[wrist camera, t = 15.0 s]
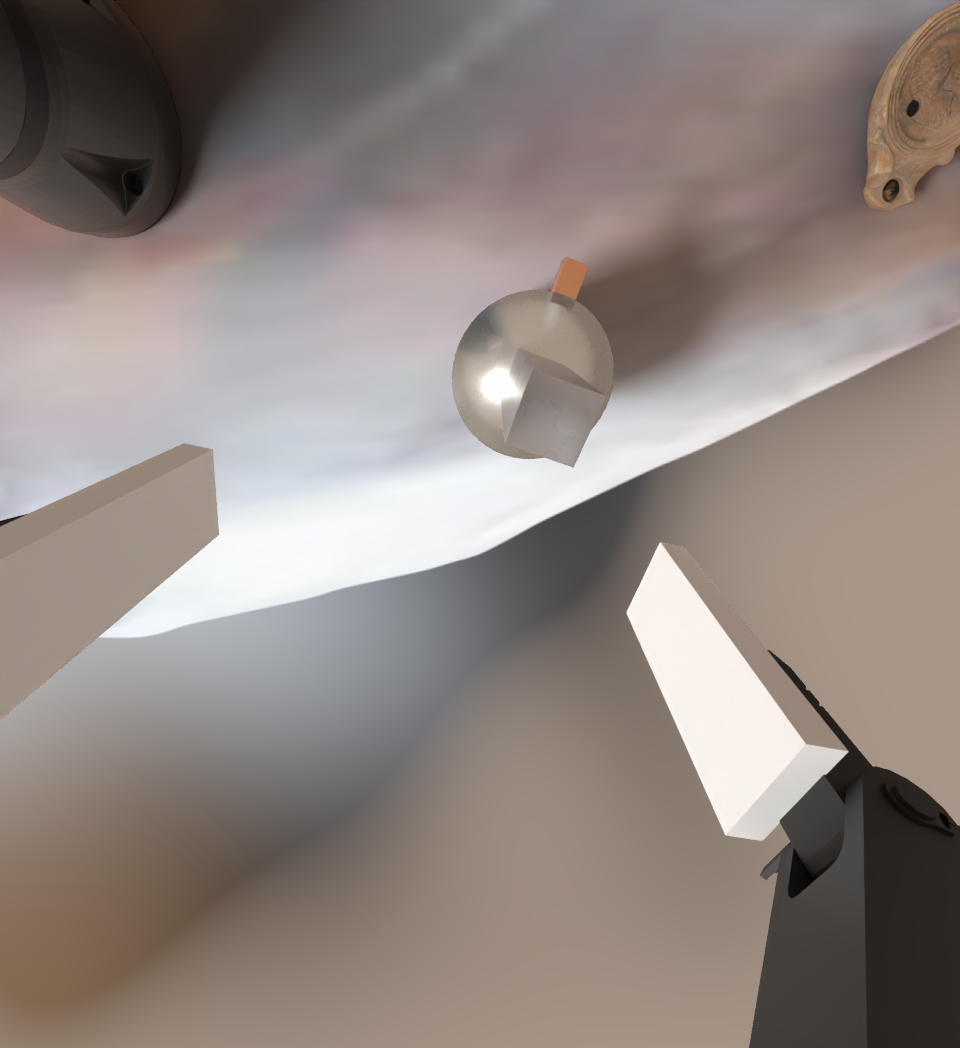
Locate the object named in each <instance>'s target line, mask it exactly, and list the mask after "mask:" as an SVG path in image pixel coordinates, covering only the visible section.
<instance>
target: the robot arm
mask: <svg viewBox="0 0 960 1048" xmlns="http://www.w3.org/2000/svg"><path fill="white" fill-rule="evenodd" d="M180 163H181V142H180V132H179V126H178V120H177V115H176V111H175V107H174V103H173V100H172V97H171V94H170V91H169V88H168V85H167V83H166V80H165V78H164V75H163V73H162V71H161V69H160V67H159V65H158V63H157V61H156V59H155V57H154V55H153V53H152V51H151V50H150V48H149V46H148V45H147V43H146V41H145V40H144V38H143V37H142V35H141V34H140V32H139V31H138V29H137V28H136V27H135V25H134V24H133V23H132V22H131V20H130V19H129V18H128V17H127V15H126V14H125V13H124V12H123V11H122V10H121V8H120V7H119V6H118V5H117V4H116V3H115V2H114V1H113V0H0V196H1V197H2V198H4V199H6V200H8V201H9V202H11V203H13V204H15V205H16V206H18V207H20V208H22V209H23V210H25V211H27V212H29V213H30V214H32V215H34V216H36V217H38V218H39V219H41V220H43V221H45V222H48V223H50V224H52V225H55V226H58V227H60V228H63V229H66V230H70V231H73V232H78V233H83V234H88V235H94V236H99V237H106V238H119V237H126V236H130V235H134V234H137V233H139V232H141V231H143V230H145V229H147V228H148V227H150V226H151V225H152V224H154V223H155V222H156V221H157V220H158V219H159V218H160V217H161V216H162V214H163V213H164V212H165V210H166V209H167V207H168V206H169V204H170V202H171V200H172V197H173V195H174V193H175V189H176V186H177V182H178V178H179V172H180ZM218 535H219V529H218V515H217V502H216V488H215V475H214V461H213V449H208V448H203V447H199V446H194V445H189V444H182V445H180V446H177V447H175V448H173V449H171V450H168V451H166V452H164V453H162V454H160V455H157V456H155V457H153V458H151V459H149V460H146V461H144V462H142V463H140V464H138V465H135V466H133V467H131V468H129V469H126V470H124V471H122V472H120V473H118V474H115V475H113V476H111V477H109V478H107V479H104V480H102V481H100V482H98V483H96V484H93V485H91V486H89V487H87V488H84V489H82V490H80V491H78V492H76V493H73V494H71V495H69V496H67V497H65V498H62V499H60V500H58V501H56V502H54V503H51V504H49V505H47V506H45V507H42V508H40V509H38V510H36V511H34V512H31V513H29V514H25V515H21V516H18V517H14V518H10V519H6V520H2V521H0V720H1V719H2V718H3V717H5V716H6V715H7V714H8V713H9V712H10V711H12V710H13V709H14V708H15V707H16V706H18V705H19V704H20V703H21V702H22V701H23V700H25V699H26V698H27V697H28V696H29V695H30V694H32V693H33V692H34V691H35V690H36V689H38V688H39V687H40V686H41V685H42V684H43V683H45V682H46V681H47V680H48V679H49V678H51V677H52V676H53V675H54V674H55V673H56V672H58V671H59V670H60V669H61V668H62V667H64V666H65V665H66V664H67V663H68V662H69V661H71V660H72V659H73V658H74V657H75V656H77V655H78V654H79V653H80V652H81V651H82V650H83V649H85V648H86V647H87V646H88V645H89V644H90V643H92V642H93V641H94V640H95V639H97V638H98V637H99V636H100V635H101V634H102V633H104V632H105V631H106V630H107V629H108V628H110V627H111V626H112V625H113V624H114V623H115V622H117V621H118V620H119V619H120V618H121V617H122V616H124V615H125V614H126V613H127V612H128V611H130V610H131V609H132V608H133V607H134V606H135V605H137V604H138V603H139V602H140V601H141V600H143V599H144V598H145V597H146V596H147V595H148V594H150V593H151V592H152V591H153V590H154V589H156V588H157V587H158V586H159V585H160V584H161V583H163V582H164V581H165V580H166V579H167V578H168V577H170V576H171V575H172V574H173V573H174V572H176V571H177V570H178V569H179V568H180V567H181V566H183V565H184V564H185V563H186V562H187V561H189V560H190V559H191V558H192V557H193V556H194V555H196V554H197V553H198V552H199V551H200V550H201V549H203V548H204V547H205V546H206V545H207V544H209V543H210V542H211V541H212V540H213V539H214V538H216V537H217V536H218ZM627 615H628V617H629V620H630V622H631V624H632V626H633V628H634V631H635V633H636V635H637V638H638V640H639V642H640V644H641V647H642V649H643V651H644V653H645V656H646V658H647V660H648V662H649V664H650V667H651V669H652V671H653V673H654V676H655V678H656V680H657V682H658V685H659V687H660V689H661V691H662V693H663V696H664V698H665V700H666V703H667V705H668V707H669V709H670V711H671V714H672V716H673V718H674V721H675V723H676V725H677V727H678V730H679V732H680V734H681V736H682V738H683V741H684V743H685V745H686V748H687V750H688V752H689V754H690V756H691V759H692V761H693V763H694V765H695V768H696V770H697V772H698V774H699V777H700V779H701V781H702V783H703V785H704V788H705V790H706V792H707V795H708V797H709V799H710V801H711V804H712V806H713V808H714V810H715V813H716V815H717V817H718V819H719V822H720V824H721V826H722V828H723V830H724V833H725V835H727V836H734V837H741V838H747V839H754V840H761V841H763V840H764V838H766V837H767V836H768V835H769V833H770V832H771V831H772V830H773V829H774V828H775V827H776V826H777V825H778V824H779V823H781V825H782V827H783V829H784V830H785V832H786V834H787V836H788V837H789V839H790V841H791V842H790V843H789V844H788V845H787V846H786V847H785V848H784V849H783V850H782V851H781V852H780V853H779V854H777V855H776V856H775V857H774V858H773V859H772V860H771V861H770V862H769V863H768V864H767V865H766V866H765V867H764V869H763V871H762V872H761V874H760V876H762V877H763V878H764V879H766V880H767V879H768V878H769V877H770V876H771V875H772V874H773V873H777V872H778V876H777V881H776V887H775V894H774V900H773V906H772V912H771V918H770V924H769V930H768V936H767V942H766V948H765V955H764V961H763V967H762V973H761V979H760V985H759V991H758V997H757V1003H756V1009H755V1016H754V1021H753V1028H752V1034H751V1040H750V1046H749V1048H960V826H958V825H957V824H956V823H955V822H954V820H953V819H952V818H951V817H950V816H949V814H948V813H947V812H946V811H945V810H944V808H943V807H942V806H940V805H939V804H938V803H937V802H936V801H935V800H934V799H933V798H932V797H931V796H929V795H928V794H927V793H926V792H925V791H924V790H922V789H921V788H919V787H918V786H916V785H915V784H914V783H912V782H911V781H909V780H908V779H906V778H904V777H902V776H900V775H898V774H896V773H894V772H892V771H890V770H887V769H883V768H880V767H873V766H872V765H871V764H870V763H869V762H868V761H867V759H866V758H865V757H864V756H863V755H862V753H861V752H860V751H859V750H858V748H857V747H856V746H855V745H854V744H853V742H852V741H851V740H850V739H849V738H848V736H847V735H846V734H845V733H844V732H843V730H842V729H841V728H840V727H839V726H838V724H837V723H836V722H835V721H834V720H833V718H832V717H831V716H830V715H829V714H828V712H827V711H826V710H825V709H824V708H823V707H822V706H819V701H818V700H817V699H816V698H815V697H814V695H813V694H812V693H811V692H810V691H809V690H806V686H805V685H804V683H803V682H802V681H801V680H800V679H799V678H798V676H797V675H796V674H795V673H794V671H793V670H792V669H791V668H790V667H789V666H788V665H787V664H785V663H784V662H783V661H782V660H780V659H779V658H778V657H777V656H776V655H774V654H773V653H772V652H771V651H770V650H767V649H766V648H765V647H764V646H763V644H762V643H761V642H760V641H759V640H758V638H757V637H756V636H755V635H754V634H753V632H752V631H751V630H750V628H749V627H748V626H747V625H746V623H745V622H744V621H743V620H742V618H741V617H740V616H739V615H738V614H737V612H736V611H735V610H734V608H733V607H732V606H731V605H730V603H729V602H728V601H727V600H726V599H725V597H724V596H723V595H722V594H721V592H720V591H719V590H718V589H717V587H716V586H715V585H714V584H713V583H712V581H711V580H710V579H709V577H708V576H707V575H706V574H705V572H704V571H703V570H702V569H701V567H700V566H699V565H698V564H697V562H696V561H695V560H694V559H693V558H692V556H691V555H690V554H689V553H688V551H687V550H686V549H685V548H684V547H682V546H676V545H672V544H667V543H663V542H660V543H659V545H658V548H657V550H656V552H655V554H654V556H653V558H652V560H651V563H650V564H649V566H648V569H647V571H646V573H645V575H644V577H643V579H642V581H641V583H640V585H639V587H638V590H637V592H636V594H635V596H634V598H633V600H632V602H631V604H630V606H629V608H628V610H627Z"/></svg>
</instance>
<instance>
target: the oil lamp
mask: <svg viewBox="0 0 960 1048" xmlns="http://www.w3.org/2000/svg"><path fill="white" fill-rule="evenodd" d="M959 145H960V2H958V3H956V4H953V5H951V6H949V7H947V8H945V9H943V10H941V11H940V12H938V13H936V14H935V15H933V16H932V17H931V18H930V19H928V20H927V21H926V22H925V23H924V24H922V25H921V26H920V27H919V28H918V29H917V30H916V31H915V32H914V33H913V34H912V35H911V36H910V37H909V38H908V39H907V40H906V42H905V43H904V44H903V45H902V46H901V47H900V49H899V50H898V51H897V53H896V54H895V55H894V57H893V58H892V59H891V61H890V62H889V64H888V66H887V67H886V69H885V71H884V73H883V75H882V77H881V79H880V81H879V83H878V86H877V88H876V91H875V93H874V96H873V99H872V102H871V106H870V110H869V117H868V128H867V156H868V170H867V177H866V184H865V187H864V189H863V194H864V199H865V201H866V203H867V205H868V206H869V207H871V208H872V209H874V210H879V211H886V210H892V209H895V208H898V207H900V206H902V205H905V204H908V203H910V202H912V201H914V200H915V192H914V189H915V186H916V184H917V182H918V181H919V180H920V178H921V177H922V176H923V175H924V174H925V173H926V172H928V171H929V170H930V169H931V168H933V167H934V166H937V165H946V164H948V163H949V162H950V161H951V159H952V158H953V156H954V154H955V148H957V147H958V146H959Z"/></svg>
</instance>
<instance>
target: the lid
mask: <svg viewBox="0 0 960 1048" xmlns="http://www.w3.org/2000/svg"><path fill="white" fill-rule="evenodd" d="M588 268H589V266H588V265H585V264H583V263H580V262H578V261H575V260H573V259H571V258H568V257H566V258H565V259H563V260H562V262H561V265H560V268H559V270H558V273H557V276H556V279H555V281H554V284H553V287H552V290H551V291H546V290H528V291H522V292H517V293H514V294H511V295H508V296H506V297H504V298H501V299H499V300H497V301H496V302H494V303H493V304H491V305H490V306H488V307H487V308H486V309H485V310H483V311H482V312H481V313H480V314H479V315H478V316H477V317H476V318H475V319H474V321H473V322H472V323H471V324H470V326H469V327H468V329H467V330H466V331H465V333H464V335H463V337H462V339H461V341H460V343H459V346H458V348H457V351H456V354H455V359H454V363H453V371H452V387H453V394H454V399H455V402H456V406H457V409H458V411H459V413H460V416H461V418H462V419H463V421H464V423H465V424H466V426H467V427H468V429H469V430H470V431H471V432H472V434H473V435H474V436H475V437H476V438H477V439H478V440H479V441H481V442H482V443H483V444H485V445H486V446H487V447H489V448H491V449H493V450H494V451H496V452H499V453H501V454H503V455H507V456H510V457H515V458H522V459H535V458H543V457H545V458H548V459H550V460H553V461H556V462H559V463H562V464H565V465H568V466H571V467H574V465H575V463H576V461H577V459H578V457H579V455H580V452H581V450H582V448H583V446H584V444H585V442H586V440H587V437H588V435H589V433H590V431H591V429H592V428H593V427H594V426H595V425H596V423H597V422H598V420H599V419H600V417H601V416H602V414H603V412H604V410H605V408H606V406H607V403H608V401H609V398H610V394H611V391H612V386H613V379H614V362H613V354H612V350H611V346H610V343H609V340H608V338H607V335H606V333H605V331H604V329H603V328H602V326H601V324H600V323H599V321H598V320H597V319H596V318H595V316H594V315H593V314H592V313H591V312H590V311H589V310H588V309H587V308H586V307H585V306H583V305H582V304H580V303H579V302H577V301H576V298H577V296H578V293H579V290H580V288H581V285H582V283H583V280H584V278H585V275H586V273H587V270H588Z"/></svg>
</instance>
